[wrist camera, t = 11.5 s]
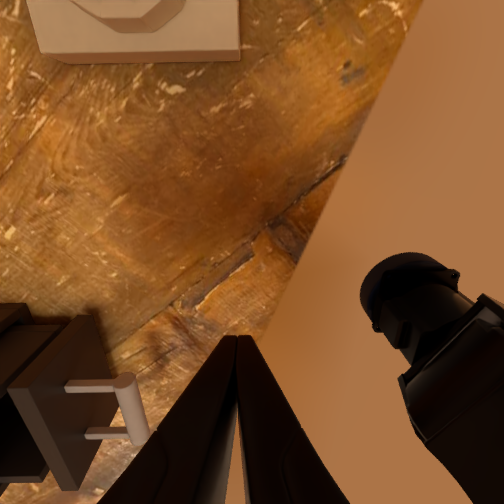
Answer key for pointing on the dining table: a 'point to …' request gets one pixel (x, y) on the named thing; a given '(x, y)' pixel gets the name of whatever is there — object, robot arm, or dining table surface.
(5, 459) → the dark brown drawer
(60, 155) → the dining table surface
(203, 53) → the control block
